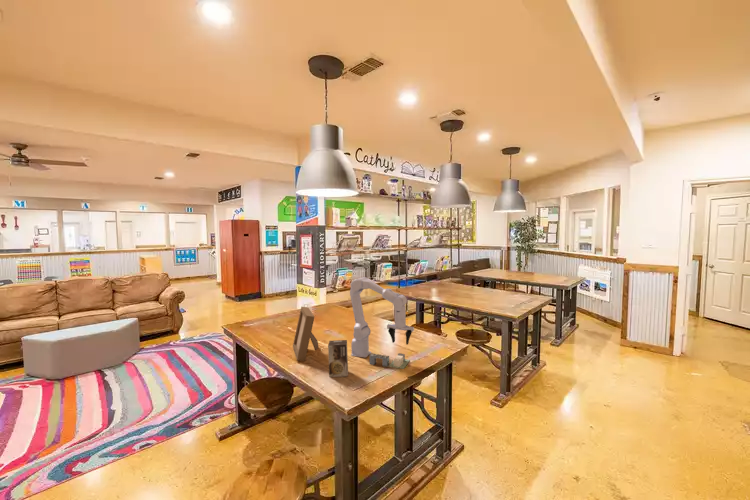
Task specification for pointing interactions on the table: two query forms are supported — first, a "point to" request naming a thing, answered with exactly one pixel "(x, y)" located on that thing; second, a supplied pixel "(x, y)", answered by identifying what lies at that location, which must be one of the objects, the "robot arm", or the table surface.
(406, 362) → the mat
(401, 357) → the plug
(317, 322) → the table surface
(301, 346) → the photo frame
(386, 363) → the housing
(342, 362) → the coffee box
